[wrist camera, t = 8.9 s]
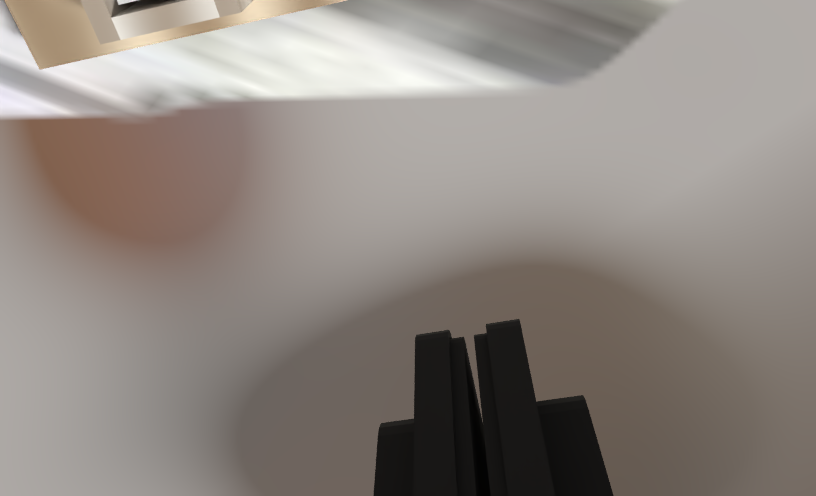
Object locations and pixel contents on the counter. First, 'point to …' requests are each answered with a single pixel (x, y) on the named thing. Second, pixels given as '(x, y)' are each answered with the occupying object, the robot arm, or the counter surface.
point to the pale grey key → (124, 1)
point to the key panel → (130, 23)
